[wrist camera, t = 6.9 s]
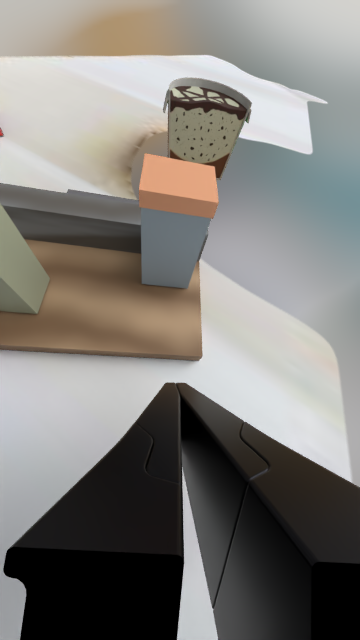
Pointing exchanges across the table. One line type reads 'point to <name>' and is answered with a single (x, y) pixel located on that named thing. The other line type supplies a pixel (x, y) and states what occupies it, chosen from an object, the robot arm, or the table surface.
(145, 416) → the robot arm
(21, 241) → the tall green block
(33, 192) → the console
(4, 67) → the table surface
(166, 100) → the food container
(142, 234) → the orange-capped grey pillar
